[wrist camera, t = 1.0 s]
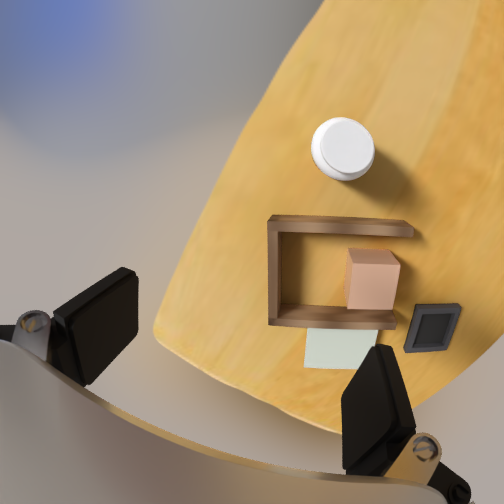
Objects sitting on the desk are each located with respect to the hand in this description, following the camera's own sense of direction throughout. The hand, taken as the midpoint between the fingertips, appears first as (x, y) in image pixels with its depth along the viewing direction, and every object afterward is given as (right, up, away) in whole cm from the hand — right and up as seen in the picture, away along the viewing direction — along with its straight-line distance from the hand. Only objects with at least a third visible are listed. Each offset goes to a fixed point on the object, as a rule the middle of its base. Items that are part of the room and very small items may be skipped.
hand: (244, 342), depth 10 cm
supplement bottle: (+9, +14, +17) cm, 24 cm away
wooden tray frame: (+10, +1, +21) cm, 23 cm away
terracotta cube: (+13, +1, +20) cm, 24 cm away
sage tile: (+12, -8, +23) cm, 27 cm away
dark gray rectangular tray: (+24, -7, +20) cm, 32 cm away
